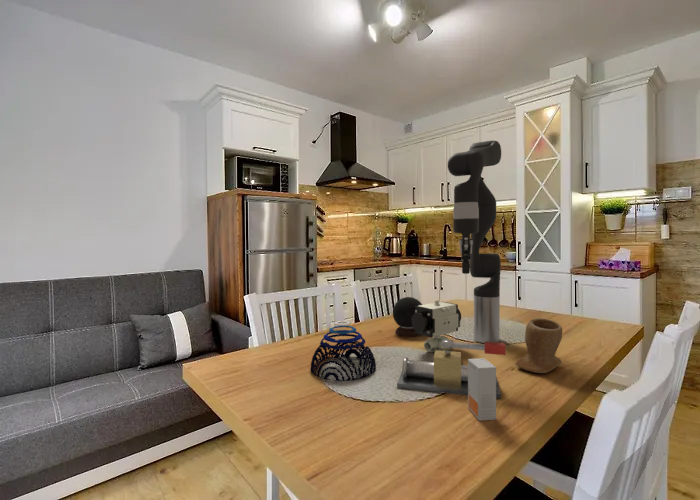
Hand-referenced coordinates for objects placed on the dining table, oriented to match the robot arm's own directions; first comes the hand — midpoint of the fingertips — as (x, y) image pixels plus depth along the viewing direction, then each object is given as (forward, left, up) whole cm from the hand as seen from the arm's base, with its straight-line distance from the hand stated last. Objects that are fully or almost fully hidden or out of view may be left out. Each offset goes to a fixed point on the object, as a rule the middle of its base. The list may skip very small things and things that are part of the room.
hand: (465, 273), depth 114 cm
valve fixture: (+17, -5, -29) cm, 34 cm away
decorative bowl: (+13, -36, -29) cm, 48 cm away
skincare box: (+32, +3, -29) cm, 43 cm away
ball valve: (-11, -9, -29) cm, 32 cm away
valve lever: (+17, +1, -19) cm, 26 cm away
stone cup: (-2, +22, -29) cm, 36 cm away
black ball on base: (-31, -22, -29) cm, 48 cm away
